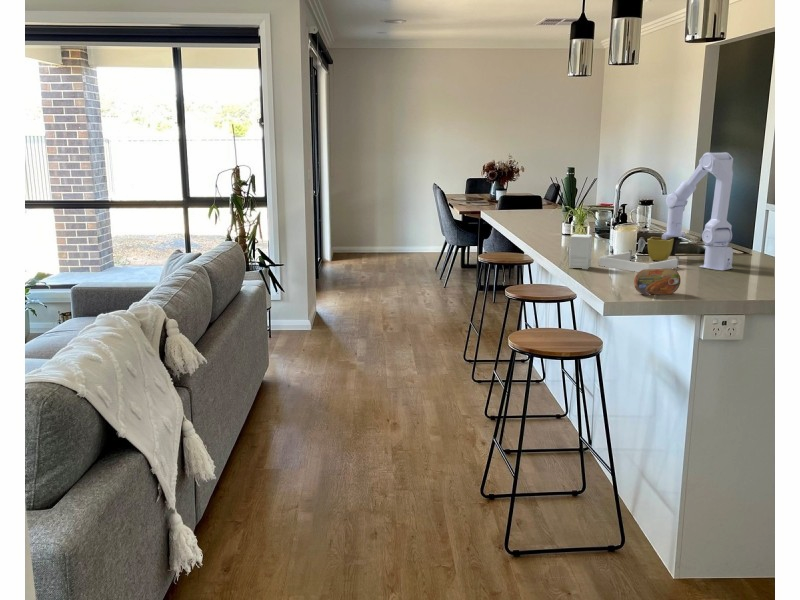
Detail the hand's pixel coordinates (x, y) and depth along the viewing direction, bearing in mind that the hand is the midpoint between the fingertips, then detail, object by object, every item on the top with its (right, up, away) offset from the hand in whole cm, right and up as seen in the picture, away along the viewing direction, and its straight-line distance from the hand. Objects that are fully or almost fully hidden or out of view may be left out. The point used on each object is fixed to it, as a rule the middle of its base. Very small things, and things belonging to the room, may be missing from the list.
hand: (671, 255), depth 290 cm
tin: (-31, -17, -66) cm, 75 cm away
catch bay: (-20, -6, -18) cm, 27 cm away
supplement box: (-44, -6, -20) cm, 48 cm away
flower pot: (-7, -2, -4) cm, 8 cm away
